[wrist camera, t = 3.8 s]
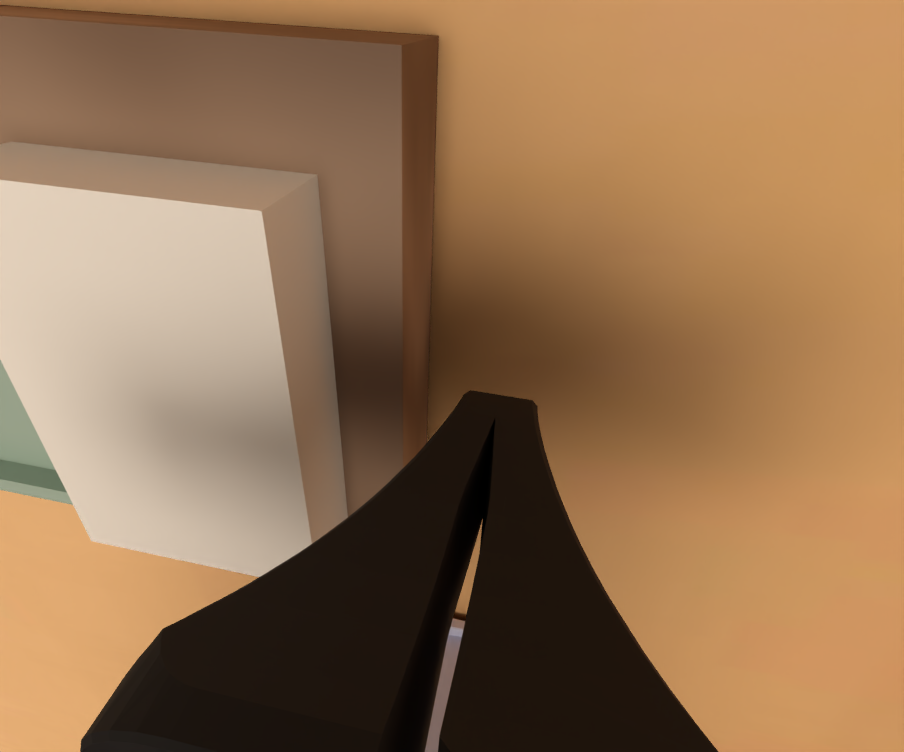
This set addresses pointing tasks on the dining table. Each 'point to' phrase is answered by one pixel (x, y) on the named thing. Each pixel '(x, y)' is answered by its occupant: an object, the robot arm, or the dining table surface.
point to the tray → (24, 451)
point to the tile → (174, 349)
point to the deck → (272, 166)
